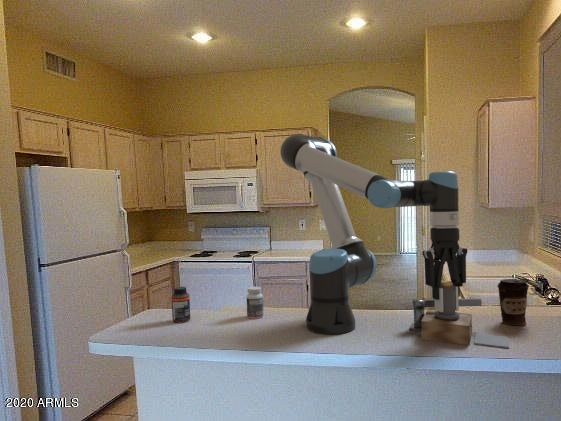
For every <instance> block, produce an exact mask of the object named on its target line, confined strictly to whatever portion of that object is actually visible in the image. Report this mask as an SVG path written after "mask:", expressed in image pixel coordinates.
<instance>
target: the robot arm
mask: <svg viewBox="0 0 561 421" xmlns="http://www.w3.org/2000/svg"><path fill="white" fill-rule="evenodd" d="M280 158H281V159H282V162H283V163H284V164H285V165H286V166H288V167H289V168H291V169H294V170H296V171H298V172H301V173H303V176H304V178H305V179H306V180H307V181H309V182H310V183H311V184H310V185H311V187H312V190H313V192H314V196H315V199H316V201H317V205H318V207H319V210H320V213H321V216H322V218H323V222H324V225H325V229H326V231H327V234H328V236H329V240H330V242H331V247H330V248H326V249H321V250H317V251H315V252H313V253H312V254H311V255H310V257H309V266H308V270H309V285H310V286H309V287H310V304H309V307H308V311H307V314H306V318H305V328H306V329H307V330H309V331H311V332H313V333H317V334H323V335H339V334H346V333H349V332H351V331H354V330H355V329H356V319H355V316H354V313H353V309H352V306H351V304H350V302H349V301H350V299H349V297H350V296H349V294H350V292H349V288H353V287H356V286H359V285H360V286H361V285H364V284H365V283H367V282H369V281H371V280H372V278H373V277H374V276H375V274H376V271H377V267H378V266H377V264H378V263H377V259H376V256H375V254H374V253H373V252H372V251H370V250H369V249H367V248H366V246H365V244H364V242H363V239H361V238H358V237H357V236H356V232H355V230H354V227H353V224H352V222H351V218H350V215H349V213H348V210H347V207H346V204H345V202H344V199H343V195H342V193H341V189H340V188H343V189H344V190H347V191H349V192H352V193H354V194H356V195H357V196H360V197H362V198H365V199H367V200H368V201H369V202H370V203H371V205H372V206H374V207H375V208H380V209H390V208H406V207H429V226H431V228H429V229H430V230H429V231H430V232H429V233H430V235H429V236H430V240H431V245H430V248H429V249H427V250H424V249H423V250H422V252H421V253H422V256H423V258H424V277H425V278H424V279H425V285H426V286H429V287H431V289H432V290H431V291H432V292H431V293H432V295H431V297H432V299H434V301H435V307H434V311H439V312H443V288H440V285H441V281H442V279H443V273H444V265H445V264H447V269H448V273H449V278H450V281H451V282H452V285H454V286H455V311H459V307H460V306H459V305H458V299H459V298H460V296H461V289H460V288H462V287H463V285H464V284H466V283H467V258H466V257H467V254H468V252H469V251H468V248H465V247H461V246H460V245H459V241H460V228H459V227H458V226H459V225H460V216H459V212H460V211H459V209H460V208H459V189H460V188H459V180H458V174H457V173H456V171H451V170H450V171H448V170H447V171H434V172H430V173H429V174H428V179H424V180H393V179H391V178H388V177H385V176H383V175H380V174H378V173H376V172H374V171H370V170H368V169H366V168H363V167H361V166H359V165H356V164H353V163H351V162H349V161H347V160H343V159H341V158H340V157H338V151H337V149H336V147H335V145H334V143H333V142H332V141H331V140H329V139H327V138H324V137H322V136H312V135H305V134H302V133H296V134H292V135H290V136H287V138H285V139H284V140H283V142H282V144H281V145H280Z"/></svg>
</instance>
